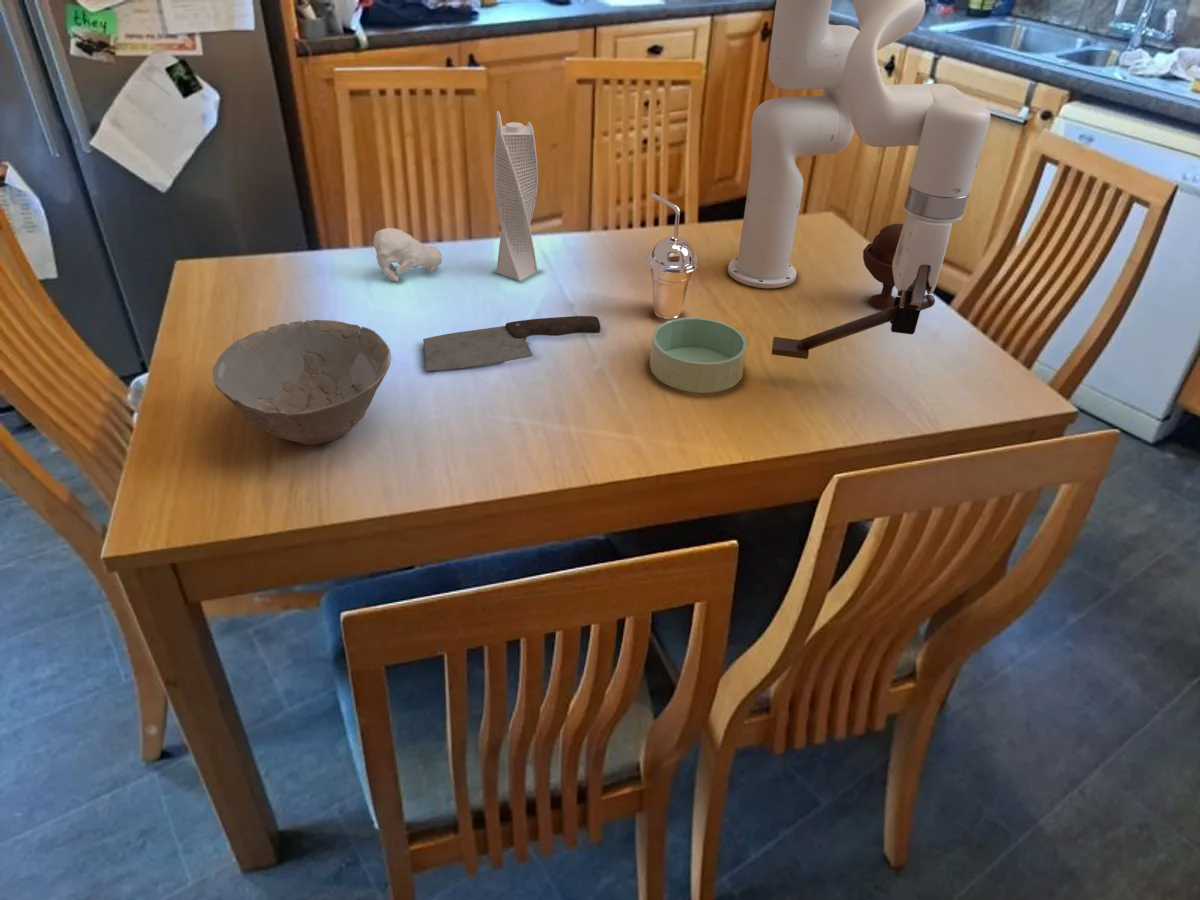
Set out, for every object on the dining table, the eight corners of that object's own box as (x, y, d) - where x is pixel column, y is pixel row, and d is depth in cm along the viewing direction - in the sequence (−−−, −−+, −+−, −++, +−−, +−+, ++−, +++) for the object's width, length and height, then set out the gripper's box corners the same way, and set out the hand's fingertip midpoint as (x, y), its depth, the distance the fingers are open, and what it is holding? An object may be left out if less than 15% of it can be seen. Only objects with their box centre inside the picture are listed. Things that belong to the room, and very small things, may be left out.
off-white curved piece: (370, 223, 155) (439, 222, 159) (371, 268, 160) (437, 267, 164) (376, 237, 150) (446, 236, 155) (376, 283, 155) (444, 281, 159)
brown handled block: (771, 354, 130) (784, 283, 123) (772, 342, 133) (784, 272, 126) (916, 374, 127) (937, 302, 120) (914, 361, 130) (935, 290, 123)
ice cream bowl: (918, 321, 153) (941, 239, 144) (852, 313, 154) (871, 231, 145) (913, 294, 161) (935, 215, 152) (851, 287, 163) (869, 208, 154)
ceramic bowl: (238, 492, 109) (220, 425, 103) (221, 396, 125) (206, 333, 120) (416, 455, 116) (410, 391, 110) (378, 369, 133) (371, 309, 127)
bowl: (657, 342, 143) (659, 312, 140) (745, 354, 141) (750, 324, 138) (642, 388, 132) (645, 356, 129) (738, 402, 130) (743, 370, 127)
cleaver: (591, 319, 148) (592, 307, 147) (612, 347, 141) (613, 335, 140) (415, 345, 139) (414, 333, 138) (428, 376, 132) (427, 364, 131)
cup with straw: (656, 331, 146) (666, 214, 134) (632, 307, 153) (640, 193, 141) (701, 323, 149) (715, 208, 137) (675, 299, 156) (687, 188, 144)
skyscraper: (486, 272, 161) (480, 114, 145) (512, 259, 166) (509, 105, 150) (520, 285, 158) (518, 124, 141) (545, 271, 163) (546, 114, 146)
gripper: (901, 178, 122) (871, 300, 132) (910, 220, 109) (877, 351, 120) (957, 184, 121) (923, 307, 131) (973, 227, 108) (934, 359, 119)
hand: (901, 327), depth 125 cm, fingers closed on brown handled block
